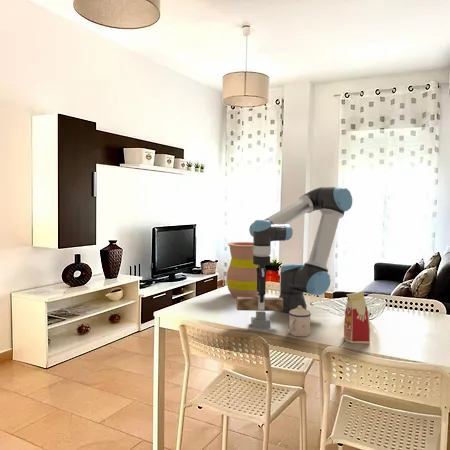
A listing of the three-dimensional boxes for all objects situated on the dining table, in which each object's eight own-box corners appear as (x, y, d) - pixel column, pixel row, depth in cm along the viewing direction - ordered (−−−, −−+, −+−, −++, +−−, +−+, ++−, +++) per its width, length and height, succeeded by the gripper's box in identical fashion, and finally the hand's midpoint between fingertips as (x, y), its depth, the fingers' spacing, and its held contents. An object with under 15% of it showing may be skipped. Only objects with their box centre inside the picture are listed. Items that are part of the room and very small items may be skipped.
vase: (221, 292, 255) (222, 242, 253) (256, 290, 262) (256, 241, 260) (233, 301, 234) (233, 246, 232) (270, 299, 241) (271, 245, 239)
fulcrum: (268, 323, 193) (268, 310, 193) (270, 327, 187) (270, 314, 187) (250, 323, 193) (251, 310, 193) (252, 327, 187) (252, 314, 187)
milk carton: (363, 336, 177) (364, 287, 176) (371, 343, 168) (372, 292, 167) (341, 336, 177) (342, 287, 176) (348, 343, 168) (349, 292, 167)
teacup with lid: (295, 328, 186) (296, 302, 186) (314, 333, 180) (315, 305, 180) (280, 335, 177) (280, 307, 176) (299, 340, 171) (300, 311, 171)
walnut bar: (281, 308, 192) (281, 297, 192) (282, 311, 188) (283, 299, 188) (236, 307, 191) (236, 296, 191) (237, 310, 187) (237, 298, 187)
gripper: (251, 252, 197) (250, 303, 198) (255, 257, 180) (254, 313, 181) (267, 252, 197) (266, 303, 198) (273, 258, 180) (271, 313, 181)
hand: (260, 308), depth 190 cm, fingers closed on walnut bar, 4 cm apart
